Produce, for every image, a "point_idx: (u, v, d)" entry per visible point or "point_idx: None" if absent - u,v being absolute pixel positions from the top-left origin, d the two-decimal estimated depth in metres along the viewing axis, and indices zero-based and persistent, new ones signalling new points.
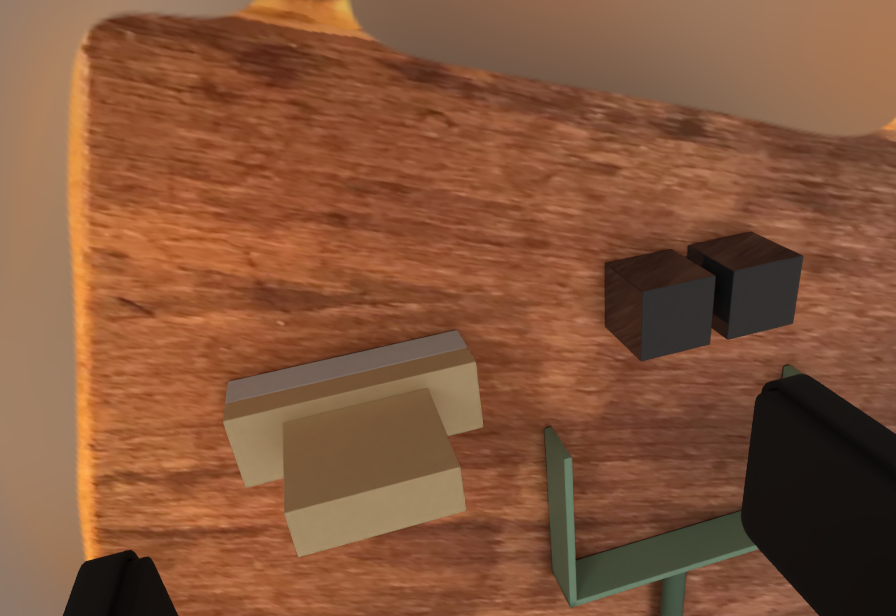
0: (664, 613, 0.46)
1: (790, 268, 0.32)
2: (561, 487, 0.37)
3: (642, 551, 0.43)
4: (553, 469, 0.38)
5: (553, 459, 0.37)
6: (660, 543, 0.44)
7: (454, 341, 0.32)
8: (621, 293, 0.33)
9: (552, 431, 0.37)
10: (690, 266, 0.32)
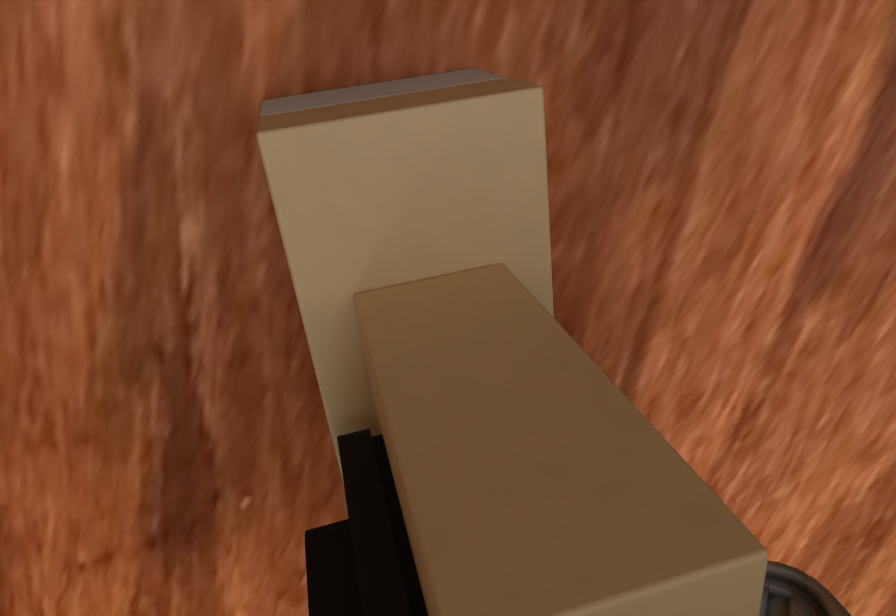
0: None
1: None
2: None
3: None
4: None
5: None
6: None
7: None
8: None
9: None
10: None
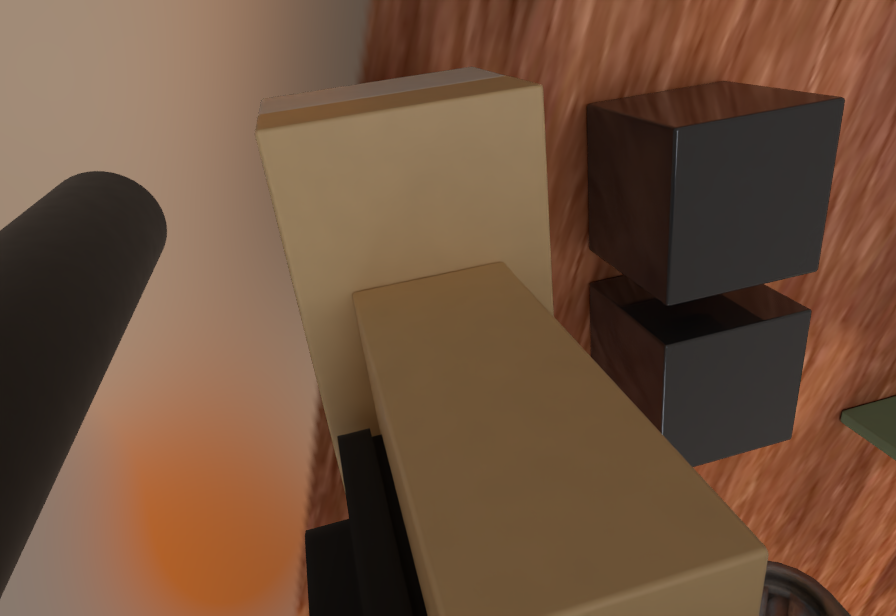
0: None
1: (698, 158, 0.13)
2: None
3: None
4: None
5: None
6: None
7: None
8: None
9: (851, 420, 0.23)
10: (632, 334, 0.16)
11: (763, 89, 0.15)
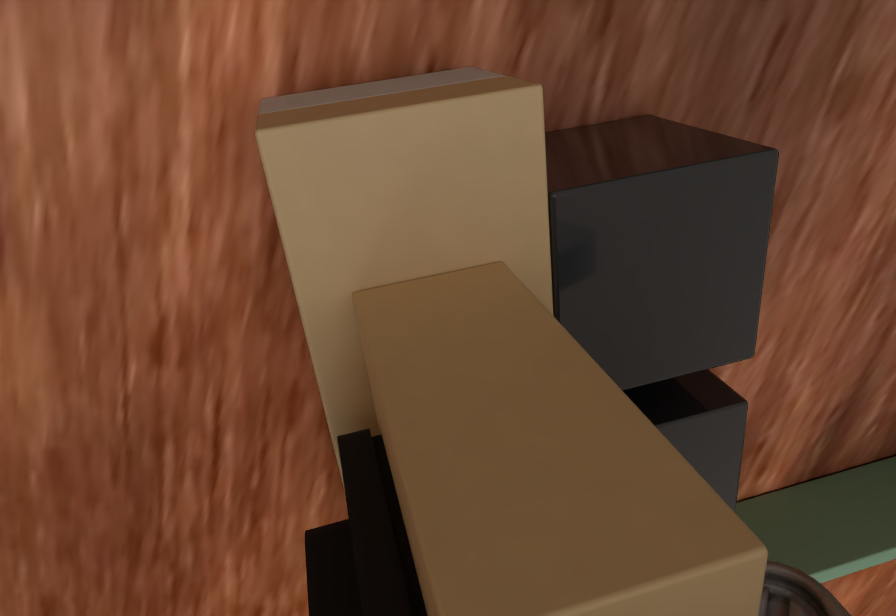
0: None
1: (585, 229, 0.10)
2: None
3: None
4: None
5: None
6: None
7: None
8: None
9: None
10: None
11: (687, 131, 0.12)
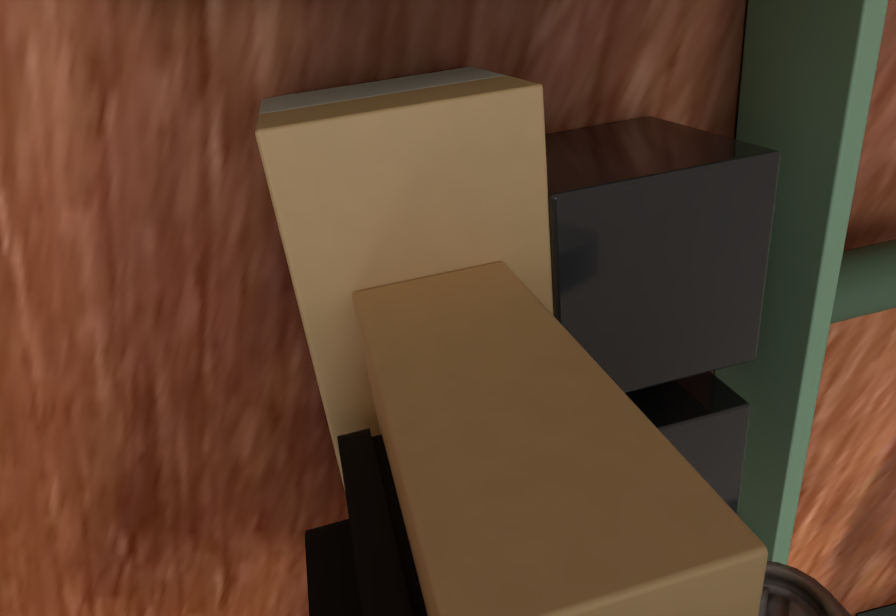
0: None
1: (586, 232, 0.10)
2: None
3: (737, 370, 0.16)
4: None
5: None
6: None
7: None
8: None
9: None
10: None
11: (688, 132, 0.12)
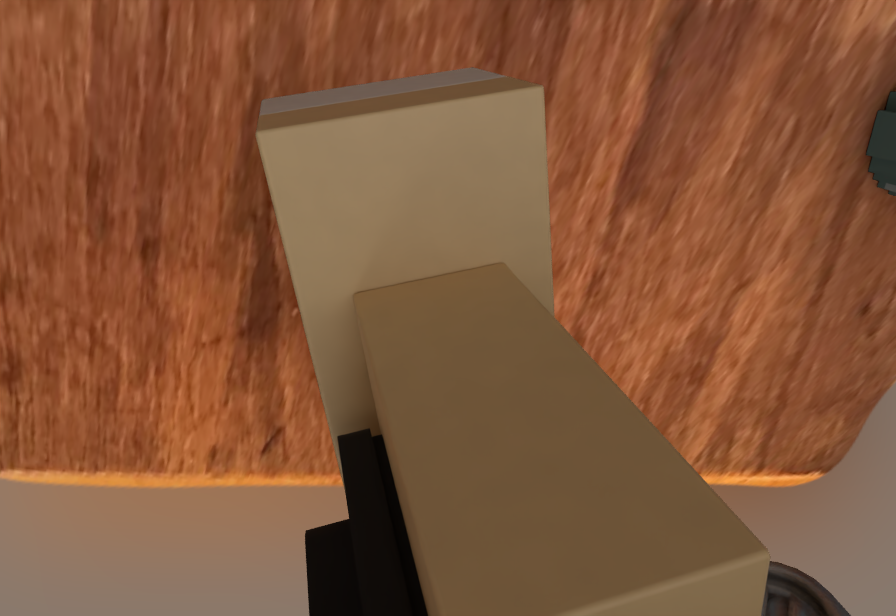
0: None
1: None
2: None
3: None
4: None
5: None
6: None
7: None
8: None
9: None
10: None
11: None
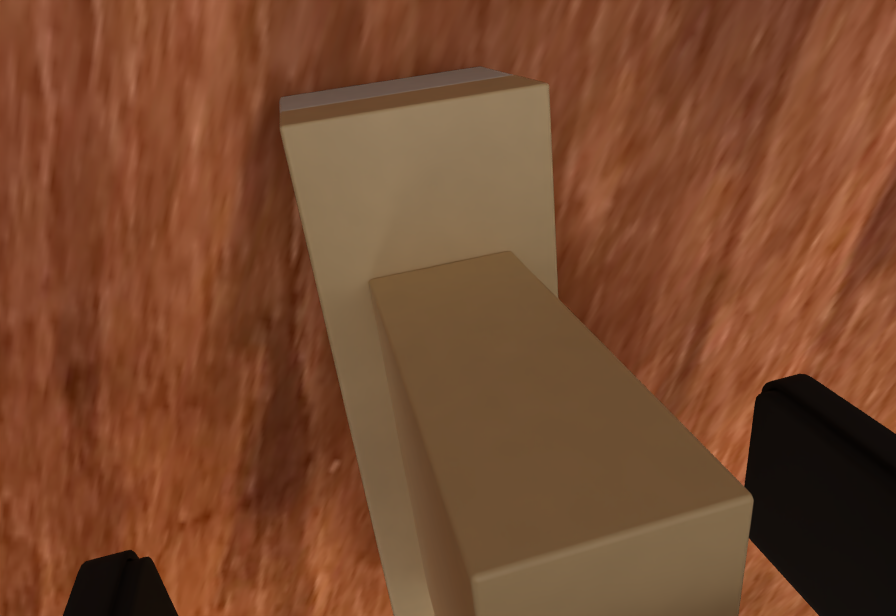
0: None
1: None
2: None
3: None
4: None
5: None
6: None
7: None
8: None
9: None
10: None
11: None
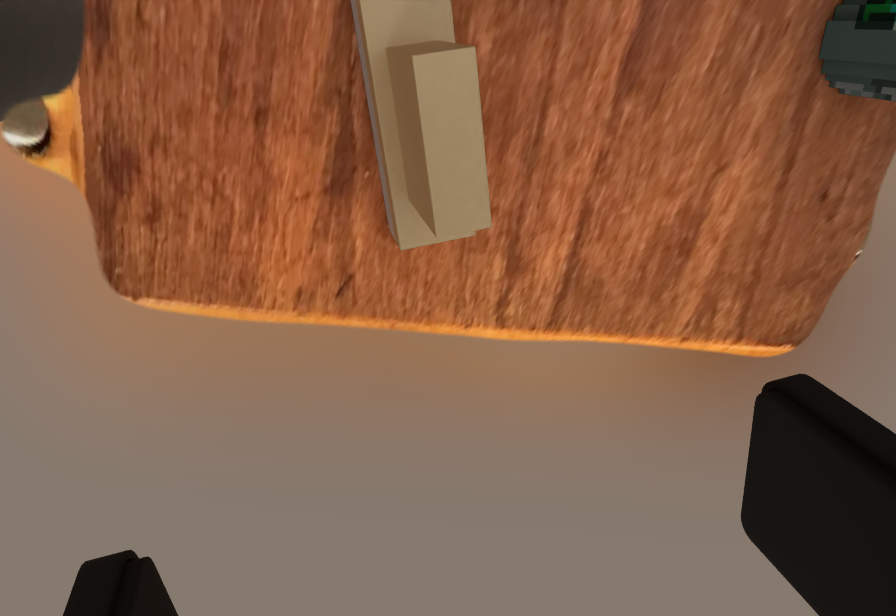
0: None
1: None
2: None
3: None
4: None
5: None
6: None
7: (353, 0, 0.29)
8: None
9: None
10: None
11: None
